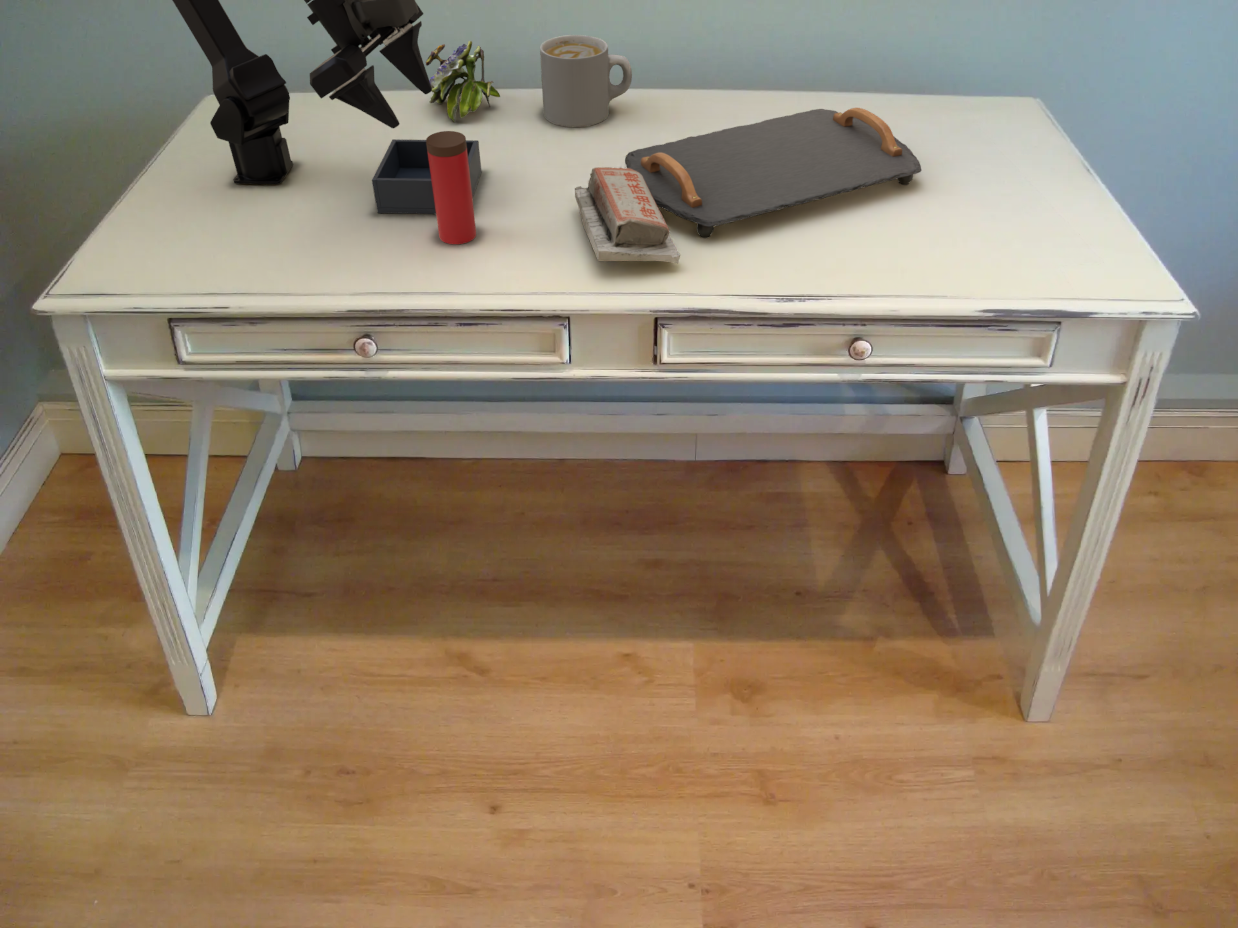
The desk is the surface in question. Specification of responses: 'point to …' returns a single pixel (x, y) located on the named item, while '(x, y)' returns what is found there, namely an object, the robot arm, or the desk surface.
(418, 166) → the desk bin
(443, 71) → the passion flower
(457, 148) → the candy tube
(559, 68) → the coffee mug
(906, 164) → the serving tray
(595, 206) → the packaged product
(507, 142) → the desk surface
